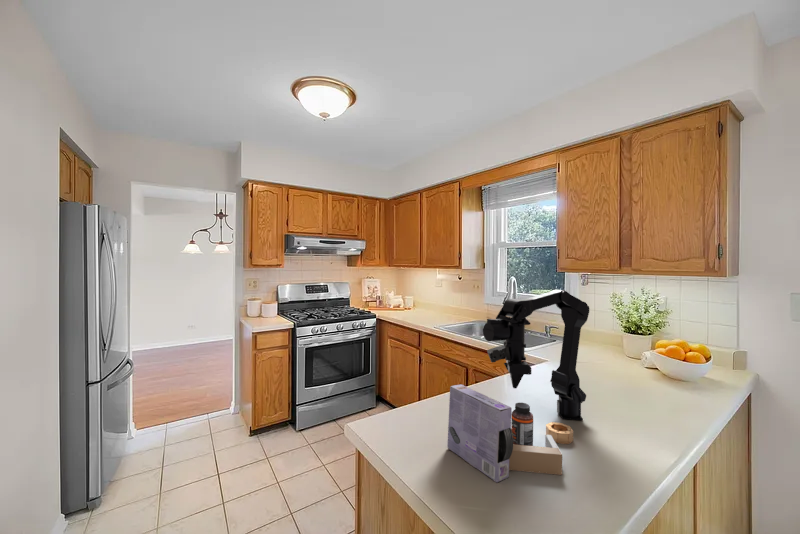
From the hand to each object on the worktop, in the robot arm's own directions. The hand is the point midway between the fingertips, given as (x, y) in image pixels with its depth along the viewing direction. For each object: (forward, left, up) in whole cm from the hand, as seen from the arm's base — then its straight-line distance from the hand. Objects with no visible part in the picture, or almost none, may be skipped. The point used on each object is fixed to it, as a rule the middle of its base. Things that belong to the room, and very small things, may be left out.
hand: (514, 387), depth 107 cm
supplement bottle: (0, +10, -13) cm, 16 cm away
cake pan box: (+13, +22, -13) cm, 28 cm away
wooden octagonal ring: (-12, +5, -13) cm, 18 cm away
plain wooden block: (0, +16, -13) cm, 20 cm away
